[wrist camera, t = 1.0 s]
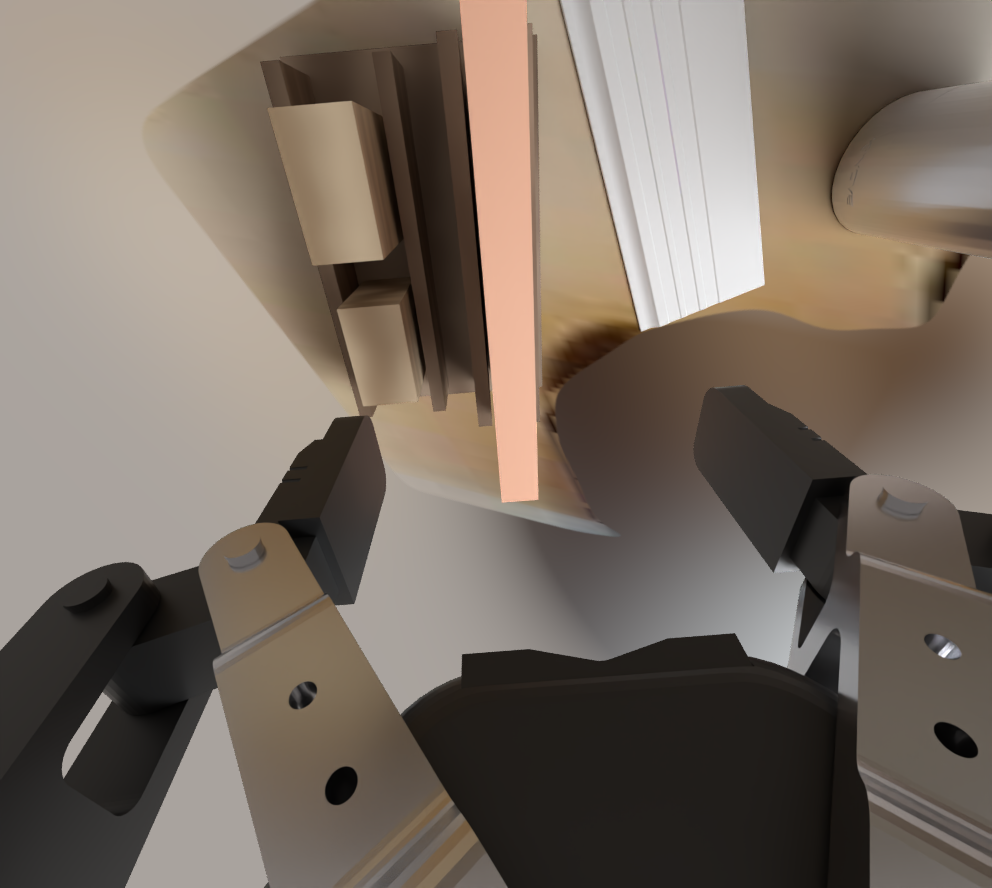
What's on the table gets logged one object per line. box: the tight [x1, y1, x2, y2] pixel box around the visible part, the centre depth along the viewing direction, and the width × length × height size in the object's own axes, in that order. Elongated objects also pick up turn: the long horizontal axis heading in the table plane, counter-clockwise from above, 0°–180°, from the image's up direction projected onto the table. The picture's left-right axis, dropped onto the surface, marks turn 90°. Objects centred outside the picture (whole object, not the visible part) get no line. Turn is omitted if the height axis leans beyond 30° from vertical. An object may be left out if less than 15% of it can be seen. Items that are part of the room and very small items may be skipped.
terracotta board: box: [459, 0, 538, 502], centre depth 26 cm, size 2×20×18 cm, turn 4°
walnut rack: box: [260, 23, 542, 427], centre depth 31 cm, size 16×24×10 cm, turn 4°
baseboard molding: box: [560, 0, 765, 331], centre depth 30 cm, size 31×3×12 cm
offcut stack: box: [267, 101, 426, 406], centre depth 29 cm, size 4×17×10 cm, turn 4°
